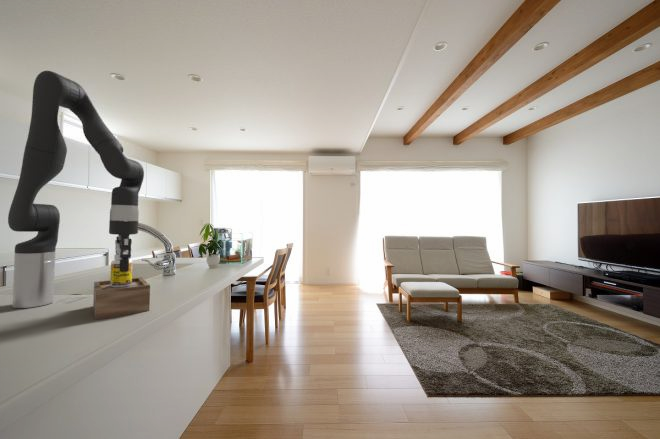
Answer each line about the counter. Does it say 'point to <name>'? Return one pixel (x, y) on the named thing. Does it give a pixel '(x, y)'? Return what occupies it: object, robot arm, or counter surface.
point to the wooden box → (120, 298)
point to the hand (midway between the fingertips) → (122, 269)
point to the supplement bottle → (120, 274)
